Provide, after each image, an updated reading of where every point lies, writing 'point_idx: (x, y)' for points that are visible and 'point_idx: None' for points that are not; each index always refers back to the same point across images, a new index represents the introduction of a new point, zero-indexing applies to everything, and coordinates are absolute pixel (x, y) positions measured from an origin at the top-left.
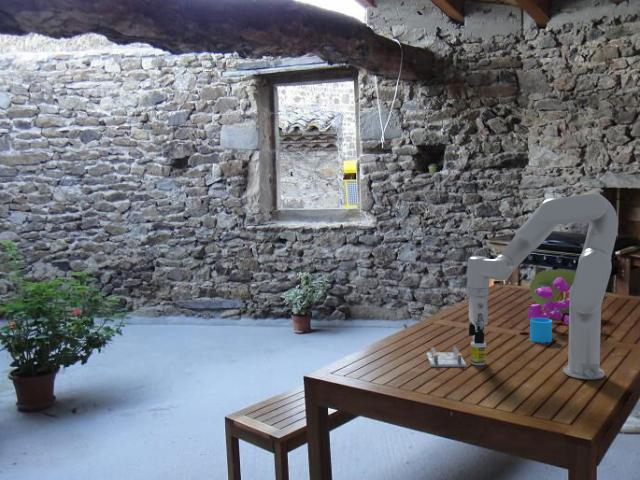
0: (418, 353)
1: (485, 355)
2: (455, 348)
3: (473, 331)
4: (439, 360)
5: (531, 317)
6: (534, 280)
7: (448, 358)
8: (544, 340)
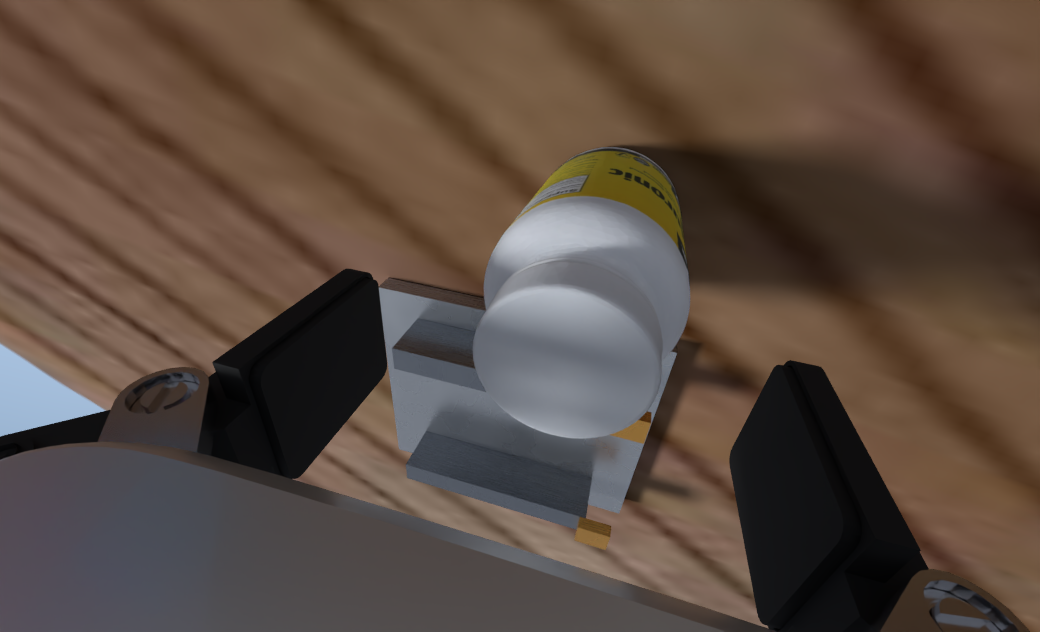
0: (379, 453)
1: (661, 190)
2: (424, 366)
3: (349, 365)
4: (555, 456)
5: None
6: None
7: None
8: None
